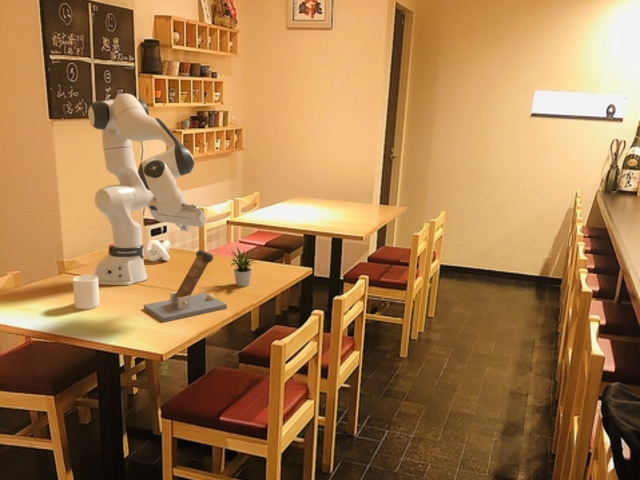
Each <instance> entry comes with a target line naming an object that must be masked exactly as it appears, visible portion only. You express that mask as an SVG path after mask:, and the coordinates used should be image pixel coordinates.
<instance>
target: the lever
mask: <svg viewBox="0 0 640 480" xmlns="http://www.w3.org/2000/svg"><path fill="white" fill-rule="evenodd" d="M195 253H196V254H195V256H196V257H195V258H194V260H193V262H192V264H191V266H190V268H189V269H188V272H187V274H186V275H185V277H184V278H183V280H182V282H181V284H180V286H179V287H178V289H177V291H176V292H177V293H176V295H175V298H177V299H178V297H183V296H191V295H193V294H192V293H193V291H194V290H195V288H196V287H197V284H198V282H199V280H200V279H201V277H202V275H203V273H204V272H205V270H206V268H207V266H208V264H209V263H211V262H212V261H213V259H214V255H213V254H212V253H209V252H207V251H204V250H202V249H199V250H197V251H196V252H195Z"/></svg>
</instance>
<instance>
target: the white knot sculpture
mask: <svg viewBox="0 0 640 480" xmlns="http://www.w3.org/2000/svg"><path fill="white" fill-rule="evenodd" d="M170 248H171V242H170V241H169V240H164V241H162V242H160V241H158V240H156V239H152V240H149V241H148V242H147V243H146V244H145V247H144V258H146V260H147V261H149V262H151V261H152V263H153V262H157V261H158V260H160V259H162V260H163V261H165V262H169V260H170V255H169V253H168V252H169V249H170Z"/></svg>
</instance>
